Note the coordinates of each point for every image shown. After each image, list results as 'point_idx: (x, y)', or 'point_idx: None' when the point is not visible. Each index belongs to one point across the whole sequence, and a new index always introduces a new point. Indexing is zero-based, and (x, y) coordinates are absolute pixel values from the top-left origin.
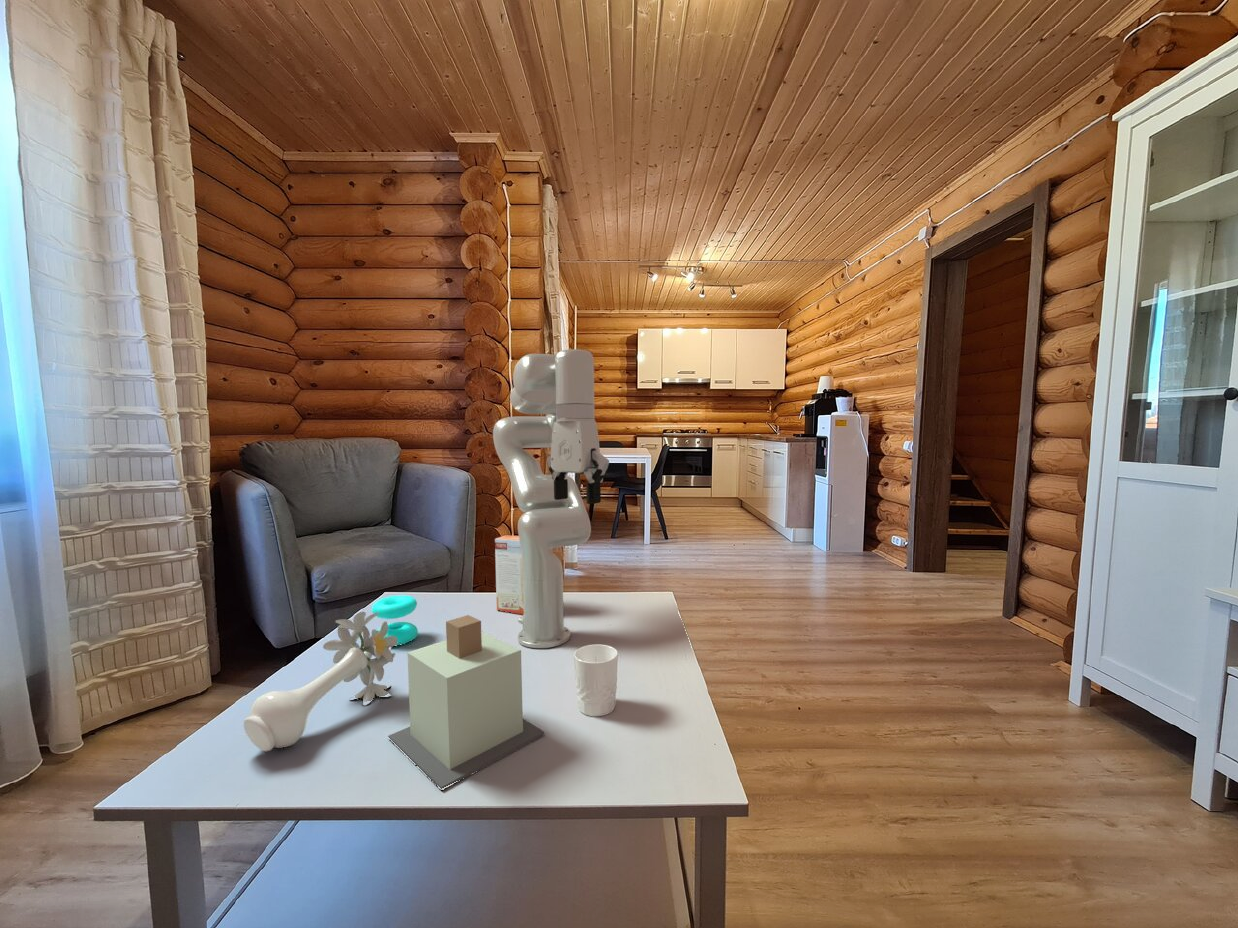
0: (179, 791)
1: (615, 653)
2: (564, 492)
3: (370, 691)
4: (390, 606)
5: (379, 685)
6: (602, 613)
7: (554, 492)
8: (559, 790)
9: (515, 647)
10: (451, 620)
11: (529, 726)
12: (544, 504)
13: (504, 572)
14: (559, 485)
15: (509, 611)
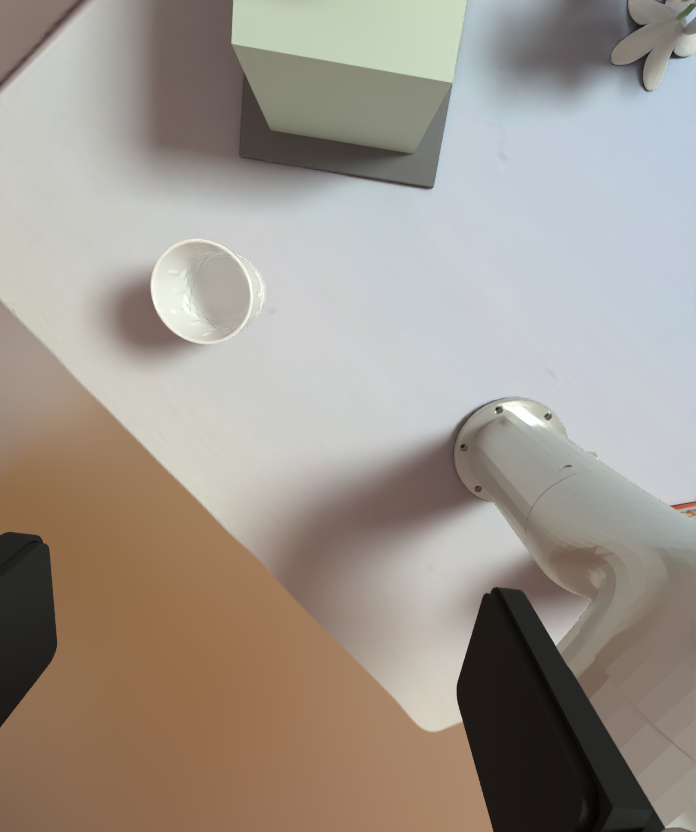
0: None
1: (179, 330)
2: (482, 717)
3: (656, 13)
4: None
5: (659, 44)
6: (479, 603)
7: (543, 640)
8: (105, 46)
9: (257, 47)
10: None
11: (274, 152)
12: None
13: None
14: (536, 759)
15: (672, 507)
